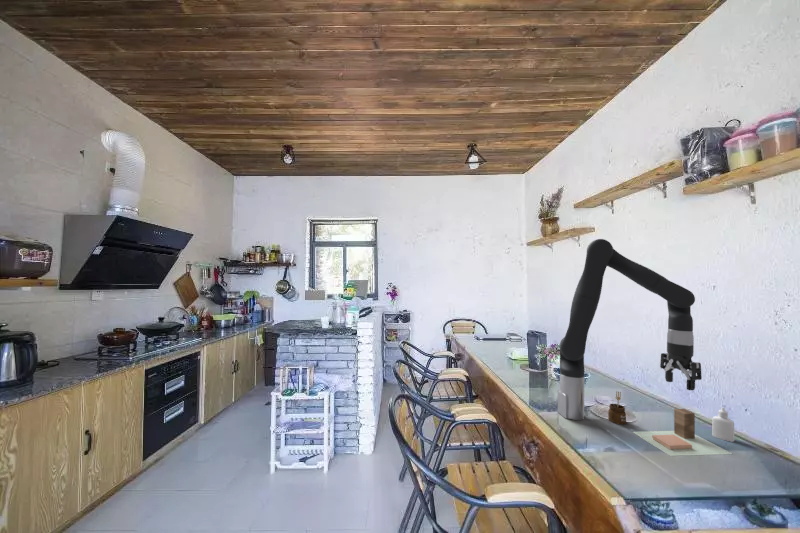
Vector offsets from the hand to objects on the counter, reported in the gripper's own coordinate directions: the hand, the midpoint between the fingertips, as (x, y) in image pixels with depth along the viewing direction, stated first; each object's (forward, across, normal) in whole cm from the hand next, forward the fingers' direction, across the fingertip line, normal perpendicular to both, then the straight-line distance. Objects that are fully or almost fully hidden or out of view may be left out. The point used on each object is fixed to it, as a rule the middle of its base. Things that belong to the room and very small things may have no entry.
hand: (679, 385), depth 122 cm
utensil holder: (+19, -11, -15) cm, 27 cm away
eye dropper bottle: (+19, +3, +14) cm, 24 cm away
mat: (+19, +6, -5) cm, 20 cm away
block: (+18, +1, +1) cm, 18 cm away
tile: (+17, +6, -5) cm, 19 cm away
